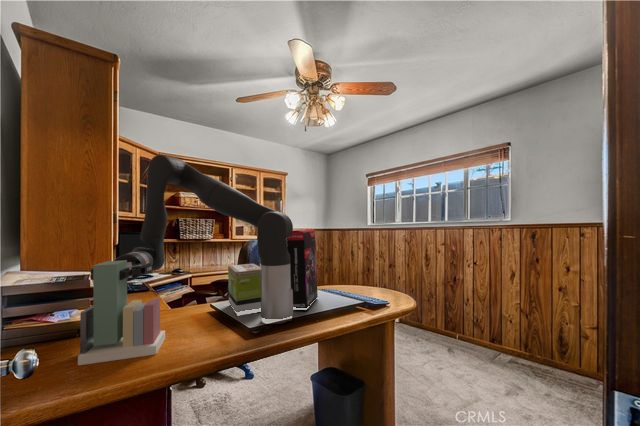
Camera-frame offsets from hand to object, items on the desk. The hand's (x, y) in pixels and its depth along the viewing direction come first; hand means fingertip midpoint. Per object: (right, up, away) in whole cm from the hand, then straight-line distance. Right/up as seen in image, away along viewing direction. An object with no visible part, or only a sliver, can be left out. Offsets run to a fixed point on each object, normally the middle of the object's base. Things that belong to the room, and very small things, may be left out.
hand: (108, 276), depth 67 cm
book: (0, -15, +1) cm, 15 cm away
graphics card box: (+43, -19, +37) cm, 60 cm away
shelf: (+3, -18, +2) cm, 19 cm away
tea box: (+24, -19, +34) cm, 45 cm away
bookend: (-4, -16, 0) cm, 17 cm away
